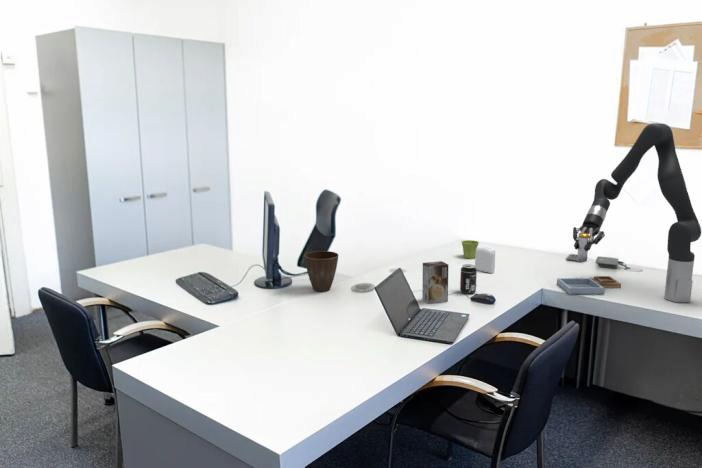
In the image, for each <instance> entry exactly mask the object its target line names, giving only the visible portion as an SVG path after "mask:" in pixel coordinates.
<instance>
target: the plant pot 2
mask: <svg viewBox="0 0 702 468" xmlns="http://www.w3.org/2000/svg"><path fill="white" fill-rule="evenodd" d="M460 243H461V245H462V252H463V258H464V259H470V260H473V259H474V260H475V254H476V248H477V247H479V243H480V242H479V240H472V239H471V240H469V239H467V240H462V241H461V242H460Z"/></svg>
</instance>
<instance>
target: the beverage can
mask: <svg viewBox="0 0 702 468" xmlns="http://www.w3.org/2000/svg"><path fill="white" fill-rule="evenodd" d="M477 271H478V270H477V269H476V268H475V264H472V263H465V264H462V266H461V268H460V282H459V286H460V287H459V291H461V292H462V294H467V295H471V294H474V293H476V292H477V278H478V277H477V275H478V273H477Z"/></svg>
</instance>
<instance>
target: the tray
mask: <svg viewBox="0 0 702 468" xmlns="http://www.w3.org/2000/svg"><path fill="white" fill-rule="evenodd" d="M556 279H557V280H556V286H558V287H559V288H560V289H561V290H562V291H564V292H565V293H566V294H567V295H568V296H585V295H584V294H604V295H605V290H606V288H604V287H602V286H601V285H599V284H598V283H597V282H595V281H594V280H592V279H591V278H589V277H579V278H578V277H571V278H570V277H568V278H567V277H565V278H564V277H561V278H559V277H558V278H556Z"/></svg>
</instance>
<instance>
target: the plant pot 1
mask: <svg viewBox="0 0 702 468" xmlns="http://www.w3.org/2000/svg"><path fill="white" fill-rule="evenodd" d="M304 261H305V262H304V263H305V267H306V271H307V275H308V278H309V279H308V280H309V281H310V284H311V287H312V291H314V292H317V293H318V292H319V293H325V292H329V291H330V290H331V288H332V285H333V282H334V279H335V275H336V272H337V268H338V261H339V253H337V252H335V251H330V250H315V251H310V252H307V253H305V254H304Z"/></svg>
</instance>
